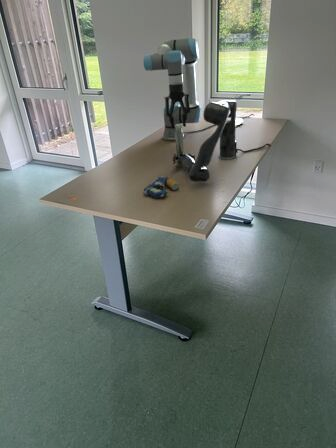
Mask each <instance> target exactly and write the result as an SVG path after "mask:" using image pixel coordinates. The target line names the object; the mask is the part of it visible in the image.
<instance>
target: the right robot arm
mask: <svg viewBox="0 0 336 448" xmlns="http://www.w3.org/2000/svg"><path fill="white" fill-rule="evenodd" d="M237 109H238V105H237V102H236V100H220V101H218V102H215V101H209V103H207V104H206V105H205V108H204V110H203V115H202V116H203V120H204V121H205V122H206V123H210V124H211V125H215V126H216V129H215V130H214V131H213V133H212V134H211V135H210V136H209V137H208V138H207V139H205V140H204V141H203V142H202V143H201V145H200V147H199V150H198V153H197V156H196V155H193V154H192V153H188V154H187V153H186V152H184V156H183V157H181V156H177V153H174V154H173V156H172V165H176V164H177V162H178V163H179V164H180V165H181V167H180V168H182V169H183V170H184V171H185V172H187V173H188V178H189V180H190V181H192V182H200V183H201V182H202V183H205V182H207V181H208V180H209V179H210V176H211V175H210V171H209V169H208V168H207V166H210V164H211V161H212V158H213V155H214V152H215V149H216V147H217V144H218V142H219V158H220V159H222V160H232V159H234V158H237V154H238V152H239V151H240V152H241V153H248V152H249V153H250V152H253V151H257V150H260V149H263V148H264V147H266V146H269V147H270V146H271V144H270V143H265V144H263V145H262V146H259V147H256V148H252V149H247V150H243V149H241V148H238V147H237V146H238V143H237V141H236V132H237V131H236V130H237V129H236V127H237V126H236V118H237V111H238V110H237ZM229 118H230V119H229ZM227 120H229V121H227ZM226 121H227V122H226Z"/></svg>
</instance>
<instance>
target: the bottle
mask: <svg viewBox="0 0 336 448" xmlns="http://www.w3.org/2000/svg"><path fill="white" fill-rule="evenodd" d="M181 129H182V128H180V129H176V133H175V138H176V141H175V151H176V152H175V154H176V155H177V156H181V157H183V156H184V153H185V150H184V147H185V146H184V137H183V134H184V133H182V132H183V129H182V130H181ZM176 166H177V167H178V168H182V167H181V165H180V164H179V163H178V162H177V163H176Z"/></svg>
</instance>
